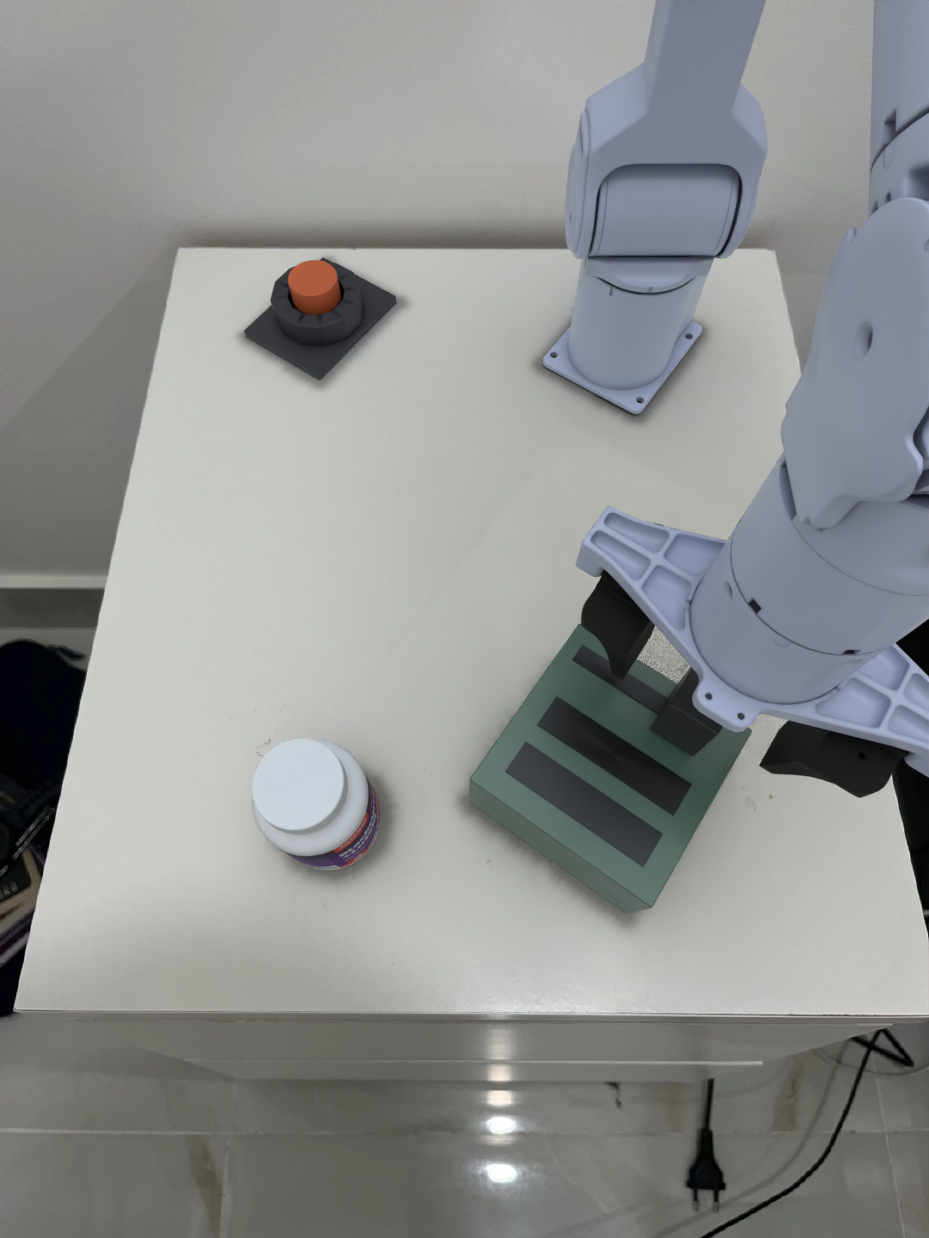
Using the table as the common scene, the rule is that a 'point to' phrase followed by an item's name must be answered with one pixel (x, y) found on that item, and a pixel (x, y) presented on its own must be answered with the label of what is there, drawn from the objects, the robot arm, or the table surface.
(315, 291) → the button
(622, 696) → the toaster
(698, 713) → the toaster slider
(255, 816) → the pill bottle
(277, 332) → the control pad
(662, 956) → the table surface
